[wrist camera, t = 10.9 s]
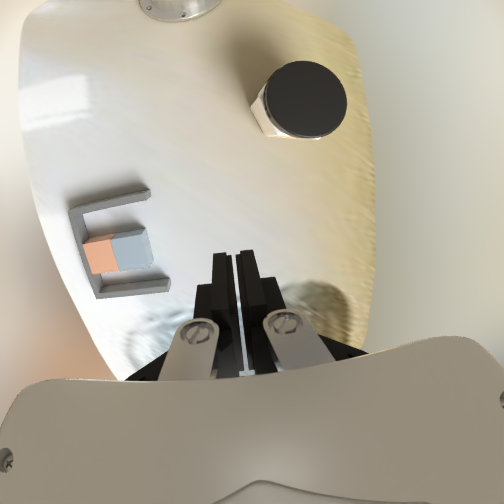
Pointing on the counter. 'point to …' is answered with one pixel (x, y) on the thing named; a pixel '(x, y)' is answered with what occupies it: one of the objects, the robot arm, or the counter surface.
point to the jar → (300, 102)
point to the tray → (96, 279)
